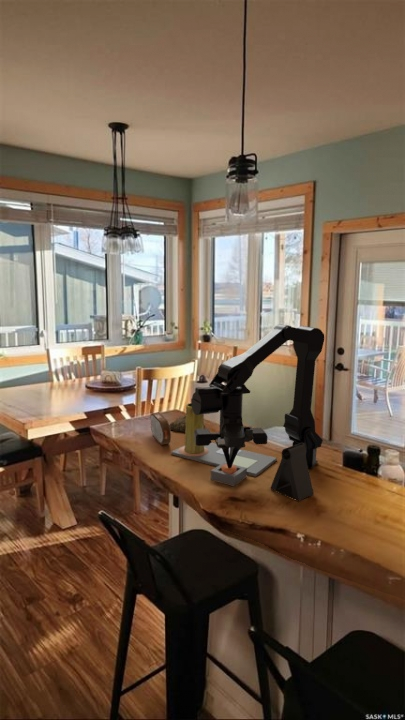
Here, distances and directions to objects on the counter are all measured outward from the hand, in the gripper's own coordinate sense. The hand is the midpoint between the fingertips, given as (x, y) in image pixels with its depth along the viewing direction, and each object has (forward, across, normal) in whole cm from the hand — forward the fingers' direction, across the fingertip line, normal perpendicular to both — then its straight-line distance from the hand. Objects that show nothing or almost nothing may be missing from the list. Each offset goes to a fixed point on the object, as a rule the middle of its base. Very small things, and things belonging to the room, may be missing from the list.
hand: (229, 467), depth 125 cm
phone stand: (+3, +14, -9) cm, 17 cm away
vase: (+2, -8, +18) cm, 20 cm away
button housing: (+3, 0, 0) cm, 3 cm away
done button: (+2, 0, 0) cm, 2 cm away
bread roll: (+4, -7, +44) cm, 45 cm away
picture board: (+3, +1, +15) cm, 15 cm away
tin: (+3, -18, +31) cm, 36 cm away
